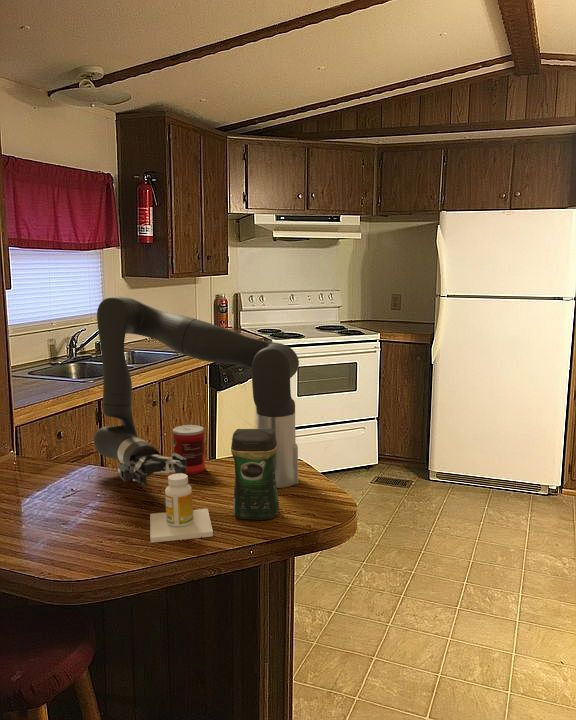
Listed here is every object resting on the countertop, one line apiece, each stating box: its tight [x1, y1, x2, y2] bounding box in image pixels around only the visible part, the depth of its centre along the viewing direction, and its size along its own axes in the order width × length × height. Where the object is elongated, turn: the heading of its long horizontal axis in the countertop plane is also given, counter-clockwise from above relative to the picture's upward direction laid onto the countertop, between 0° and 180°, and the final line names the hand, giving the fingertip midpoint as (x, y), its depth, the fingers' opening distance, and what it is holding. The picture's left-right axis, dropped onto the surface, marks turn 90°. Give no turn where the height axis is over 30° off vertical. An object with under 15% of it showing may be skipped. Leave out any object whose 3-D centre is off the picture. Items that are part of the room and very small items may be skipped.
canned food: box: [172, 424, 206, 475], centre depth 168 cm, size 8×8×11 cm
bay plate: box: [149, 508, 214, 543], centre depth 134 cm, size 12×12×1 cm
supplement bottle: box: [164, 473, 194, 527], centre depth 133 cm, size 5×5×10 cm
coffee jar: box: [230, 428, 280, 520], centre depth 138 cm, size 10×8×19 cm
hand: (164, 476), depth 139 cm, fingers open, 8 cm apart
